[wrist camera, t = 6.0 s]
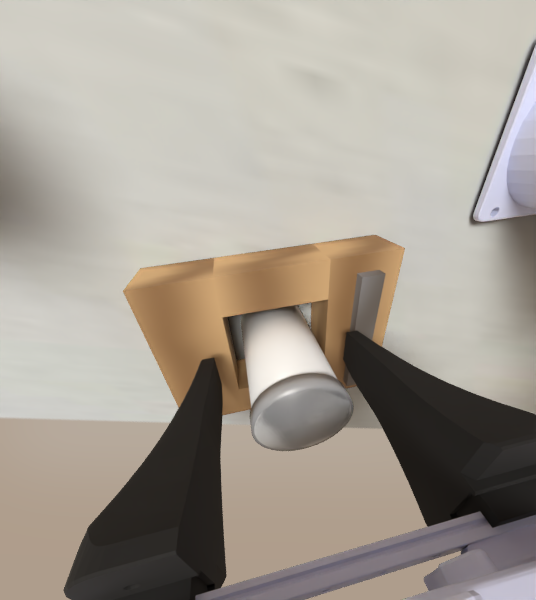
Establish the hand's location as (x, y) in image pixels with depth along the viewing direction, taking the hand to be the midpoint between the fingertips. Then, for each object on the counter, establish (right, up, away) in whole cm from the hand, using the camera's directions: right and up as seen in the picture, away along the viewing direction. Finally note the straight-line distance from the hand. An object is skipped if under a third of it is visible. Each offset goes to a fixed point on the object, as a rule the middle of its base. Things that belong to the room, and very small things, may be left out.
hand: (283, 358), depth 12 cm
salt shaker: (-1, +2, +3) cm, 3 cm away
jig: (-1, +2, +3) cm, 3 cm away
